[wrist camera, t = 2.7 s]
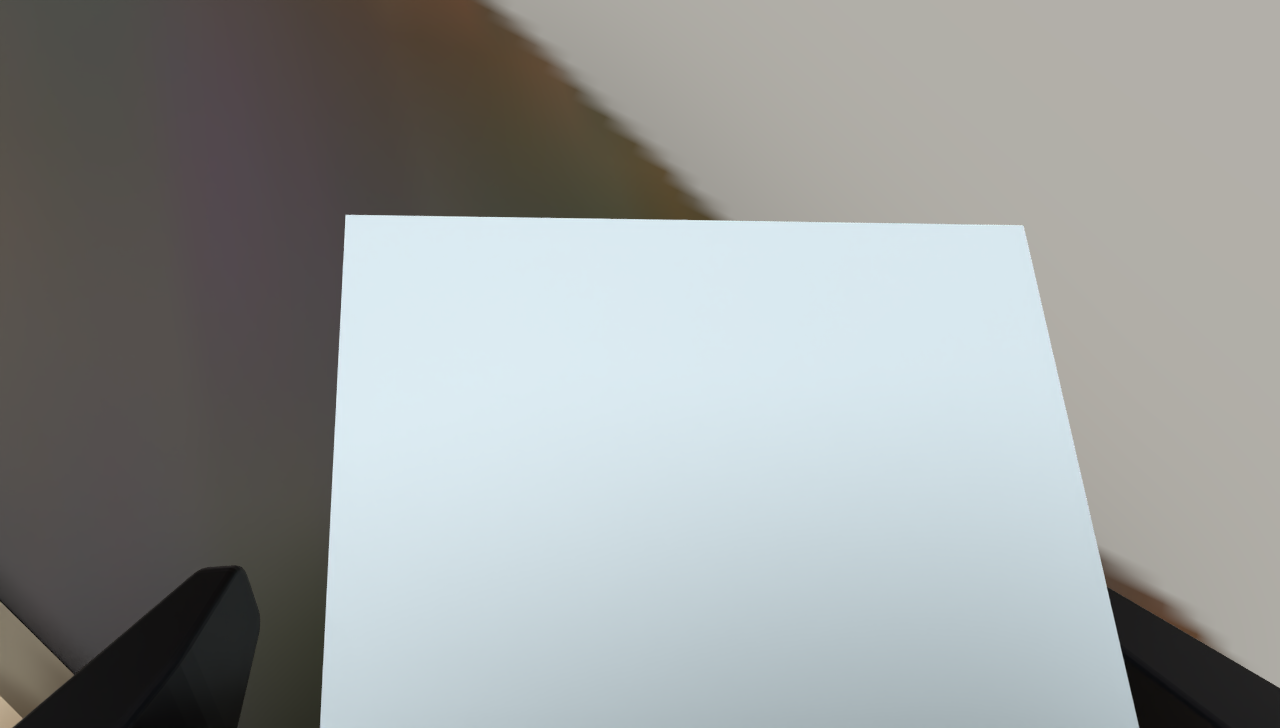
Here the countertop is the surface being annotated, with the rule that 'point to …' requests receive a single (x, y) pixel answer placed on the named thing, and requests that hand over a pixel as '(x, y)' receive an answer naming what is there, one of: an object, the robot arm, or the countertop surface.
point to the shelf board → (25, 670)
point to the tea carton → (706, 482)
